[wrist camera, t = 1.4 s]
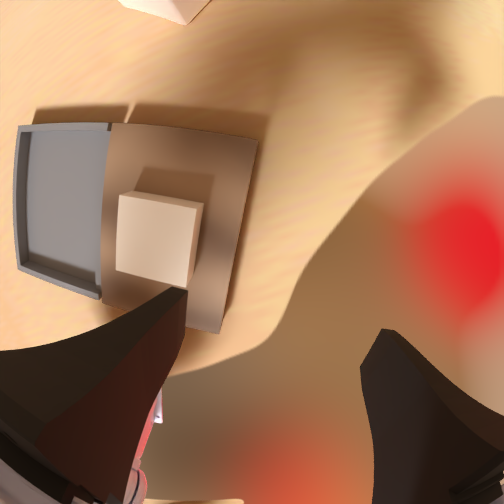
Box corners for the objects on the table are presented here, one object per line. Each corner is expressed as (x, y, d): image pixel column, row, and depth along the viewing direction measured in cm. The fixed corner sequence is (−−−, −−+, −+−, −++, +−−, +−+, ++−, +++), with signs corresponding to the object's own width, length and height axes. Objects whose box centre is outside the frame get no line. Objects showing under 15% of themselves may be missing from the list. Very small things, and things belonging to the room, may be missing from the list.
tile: (193, 274, 19) (185, 287, 17) (128, 259, 18) (115, 270, 17) (204, 203, 17) (196, 208, 15) (133, 190, 17) (119, 195, 15)
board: (222, 320, 22) (219, 334, 20) (113, 292, 22) (102, 302, 20) (258, 142, 17) (258, 140, 16) (125, 125, 17) (112, 122, 15)
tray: (108, 290, 22) (98, 300, 20) (28, 263, 21) (17, 269, 20) (120, 124, 17) (108, 122, 15) (31, 125, 17) (18, 125, 15)
